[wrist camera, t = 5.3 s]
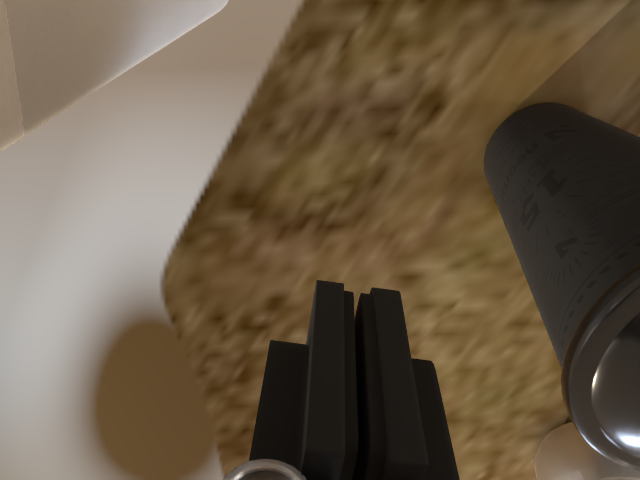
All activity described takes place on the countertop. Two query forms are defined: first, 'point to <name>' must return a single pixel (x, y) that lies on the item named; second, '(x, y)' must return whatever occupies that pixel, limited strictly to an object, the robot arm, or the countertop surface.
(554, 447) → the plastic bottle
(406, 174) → the countertop surface
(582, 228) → the drinking cup
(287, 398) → the robot arm
